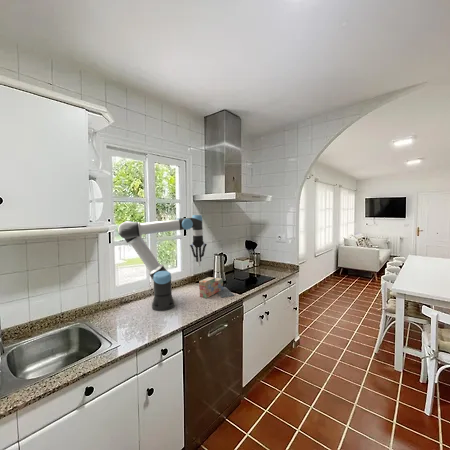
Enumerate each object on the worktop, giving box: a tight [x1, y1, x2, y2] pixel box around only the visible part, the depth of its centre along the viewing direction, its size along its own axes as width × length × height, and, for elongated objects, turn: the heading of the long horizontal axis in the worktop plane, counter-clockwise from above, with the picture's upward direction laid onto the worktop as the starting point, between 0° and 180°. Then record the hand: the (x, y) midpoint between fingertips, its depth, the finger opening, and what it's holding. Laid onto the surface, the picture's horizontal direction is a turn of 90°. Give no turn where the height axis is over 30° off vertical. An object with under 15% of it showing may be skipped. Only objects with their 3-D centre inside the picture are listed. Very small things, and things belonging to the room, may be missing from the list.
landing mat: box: [216, 286, 235, 298], centre depth 198 cm, size 10×22×1 cm, turn 18°
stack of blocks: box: [198, 276, 224, 299], centre depth 195 cm, size 21×6×12 cm, turn 143°
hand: (198, 265), depth 191 cm, fingers closed
